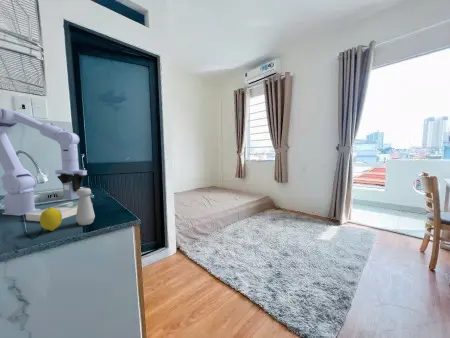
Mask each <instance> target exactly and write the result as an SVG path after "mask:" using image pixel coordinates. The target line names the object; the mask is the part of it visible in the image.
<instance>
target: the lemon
mask: <svg viewBox="0 0 450 338" xmlns="http://www.w3.org/2000/svg"><path fill="white" fill-rule="evenodd" d="M52 207H53V206H50V207H47V208H48V209H47V210H45V211H44V212H43V213H42V214H41V216H40V221H39V223H40V226H41V227H42V228H43V229H44V230H49V231H51V232H53V231H55V229H57V228H58V227H60V226H61V224H62V221H63V219H62V215H61V213H60V211H59V210H57V209H55V208H52Z"/></svg>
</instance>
